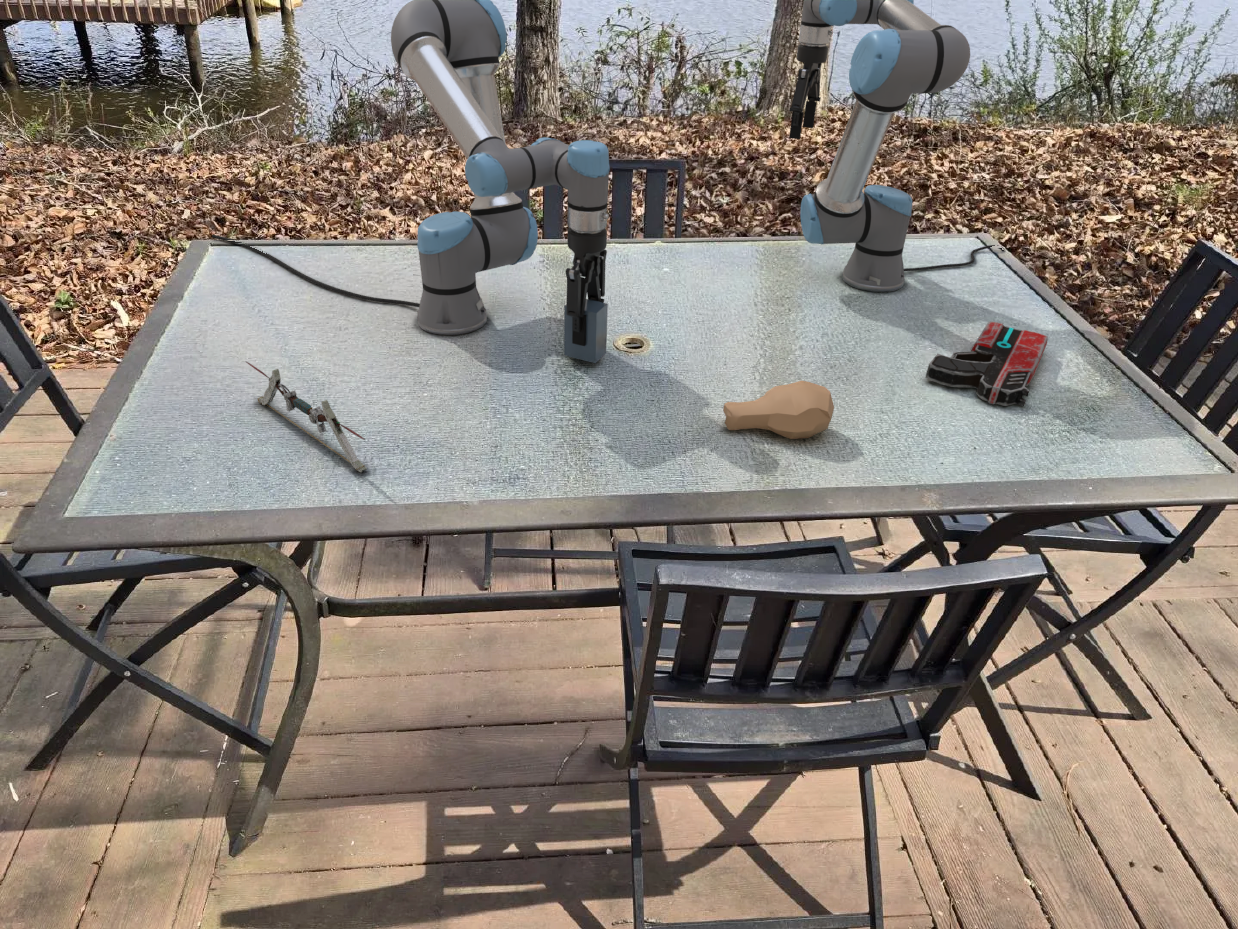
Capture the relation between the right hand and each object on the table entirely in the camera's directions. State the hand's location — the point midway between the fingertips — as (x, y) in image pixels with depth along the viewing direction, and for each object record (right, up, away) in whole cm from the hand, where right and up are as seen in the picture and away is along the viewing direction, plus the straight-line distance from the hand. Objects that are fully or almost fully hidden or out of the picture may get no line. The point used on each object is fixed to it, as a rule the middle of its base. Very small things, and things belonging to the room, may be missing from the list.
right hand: (801, 132), depth 230 cm
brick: (-55, -64, -48) cm, 97 cm away
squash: (-19, -81, -69) cm, 108 cm away
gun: (+30, -67, -46) cm, 87 cm away
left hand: (-55, -61, -51) cm, 96 cm away
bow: (-103, -82, -74) cm, 151 cm away
